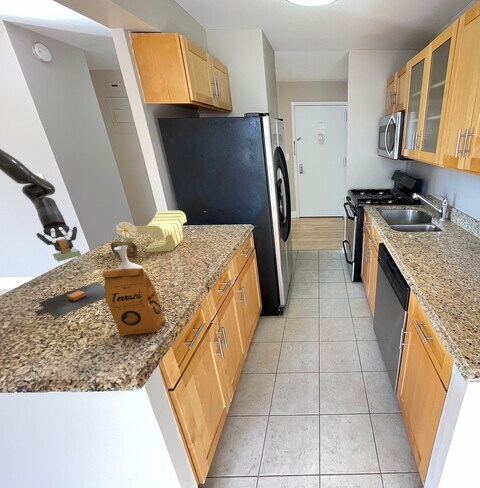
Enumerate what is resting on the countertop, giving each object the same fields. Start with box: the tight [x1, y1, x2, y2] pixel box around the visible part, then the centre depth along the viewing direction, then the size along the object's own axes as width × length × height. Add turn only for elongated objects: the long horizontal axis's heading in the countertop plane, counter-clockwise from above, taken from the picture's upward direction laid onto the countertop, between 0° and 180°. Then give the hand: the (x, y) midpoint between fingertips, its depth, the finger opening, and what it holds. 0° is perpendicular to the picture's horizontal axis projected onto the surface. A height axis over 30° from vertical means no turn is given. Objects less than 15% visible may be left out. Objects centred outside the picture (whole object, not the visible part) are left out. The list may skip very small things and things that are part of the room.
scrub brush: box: [52, 238, 82, 262], centre depth 117 cm, size 8×5×8 cm, turn 149°
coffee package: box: [102, 268, 166, 337], centre depth 82 cm, size 10×12×22 cm
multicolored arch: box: [110, 239, 138, 258], centre depth 138 cm, size 15×3×8 cm, turn 76°
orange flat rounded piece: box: [67, 290, 86, 301], centre depth 101 cm, size 4×4×2 cm
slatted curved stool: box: [134, 209, 187, 253], centre depth 148 cm, size 30×16×18 cm, turn 6°
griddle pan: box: [34, 281, 106, 319], centre depth 101 cm, size 23×18×1 cm
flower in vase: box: [112, 221, 144, 270], centre depth 116 cm, size 13×11×25 cm
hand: (65, 249), depth 116 cm, fingers closed on scrub brush, 3 cm apart
